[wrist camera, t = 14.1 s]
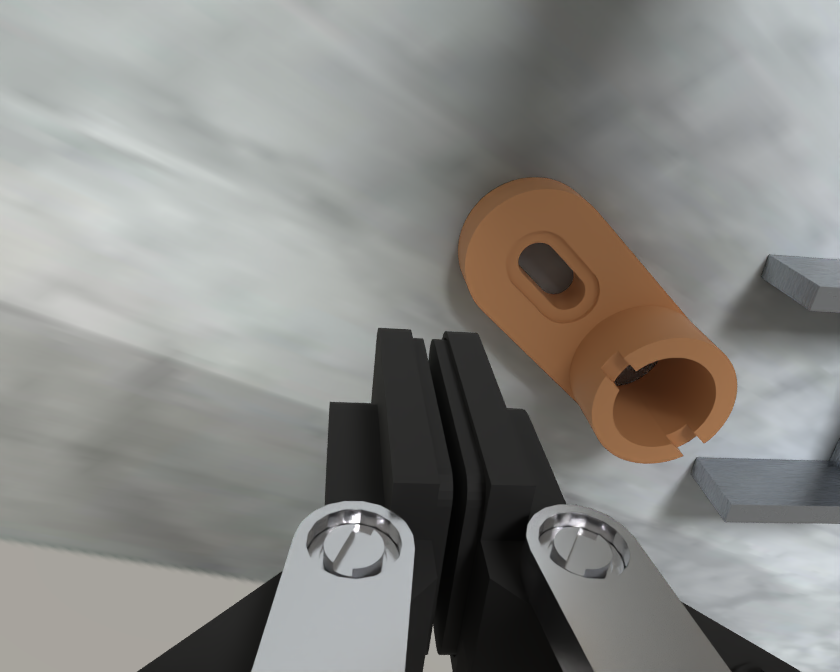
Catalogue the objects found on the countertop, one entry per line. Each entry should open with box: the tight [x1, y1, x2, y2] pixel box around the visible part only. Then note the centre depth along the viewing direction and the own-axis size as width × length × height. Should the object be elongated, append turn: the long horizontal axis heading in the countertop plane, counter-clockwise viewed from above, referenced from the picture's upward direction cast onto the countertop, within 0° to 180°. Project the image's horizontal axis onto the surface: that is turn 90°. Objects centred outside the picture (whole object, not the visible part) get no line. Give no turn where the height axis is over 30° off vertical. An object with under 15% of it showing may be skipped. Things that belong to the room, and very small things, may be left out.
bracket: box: [458, 177, 737, 464], centre depth 38 cm, size 18×8×7 cm, turn 43°
